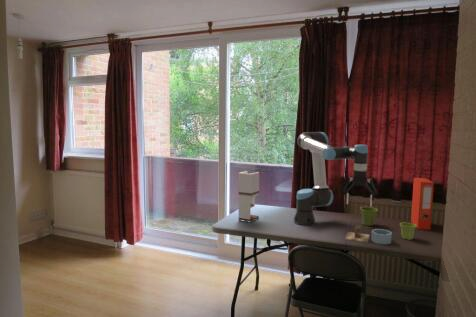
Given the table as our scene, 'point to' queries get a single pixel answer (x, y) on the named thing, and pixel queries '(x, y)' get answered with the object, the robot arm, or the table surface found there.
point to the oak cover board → (352, 237)
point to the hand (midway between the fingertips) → (359, 204)
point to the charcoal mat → (359, 241)
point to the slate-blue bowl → (381, 236)
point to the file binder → (422, 203)
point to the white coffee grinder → (247, 194)
